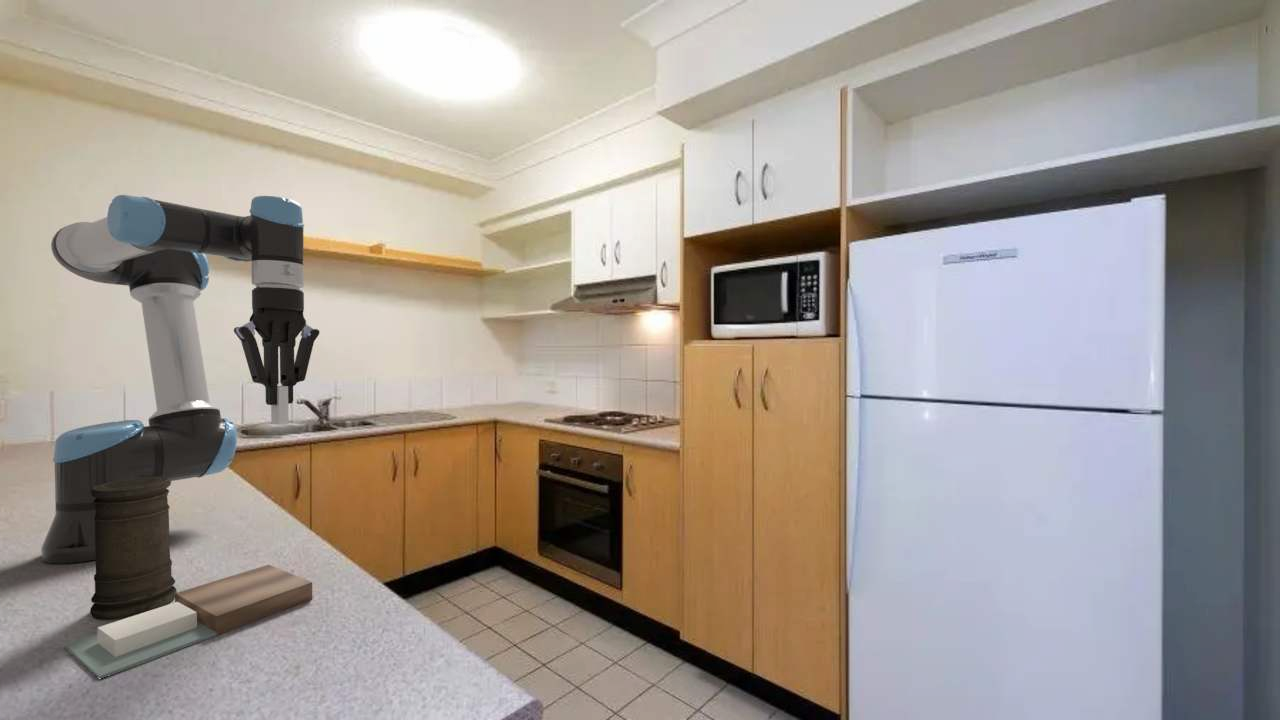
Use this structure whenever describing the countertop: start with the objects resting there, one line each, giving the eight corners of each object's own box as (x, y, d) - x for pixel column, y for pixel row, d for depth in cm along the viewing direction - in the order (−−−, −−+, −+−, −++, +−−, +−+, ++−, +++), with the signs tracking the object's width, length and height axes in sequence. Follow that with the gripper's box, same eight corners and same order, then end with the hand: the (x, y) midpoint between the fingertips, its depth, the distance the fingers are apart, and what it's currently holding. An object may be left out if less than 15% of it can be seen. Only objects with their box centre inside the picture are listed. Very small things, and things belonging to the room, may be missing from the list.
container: (190, 596, 81) (188, 477, 80) (115, 625, 72) (113, 492, 72) (151, 588, 84) (149, 473, 83) (75, 615, 75) (73, 487, 75)
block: (97, 643, 67) (97, 627, 67) (177, 616, 74) (177, 601, 74) (115, 656, 64) (115, 640, 64) (197, 627, 71) (196, 612, 71)
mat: (64, 647, 67) (64, 644, 67) (175, 610, 76) (175, 607, 76) (99, 679, 60) (99, 676, 60) (216, 635, 70) (216, 632, 70)
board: (175, 610, 76) (174, 593, 76) (268, 580, 87) (268, 564, 87) (216, 635, 70) (216, 616, 70) (312, 598, 80) (312, 582, 80)
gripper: (245, 282, 86) (247, 429, 86) (328, 290, 97) (329, 420, 98) (224, 285, 90) (226, 426, 90) (305, 293, 101) (307, 418, 101)
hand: (279, 423), depth 94 cm, fingers closed
